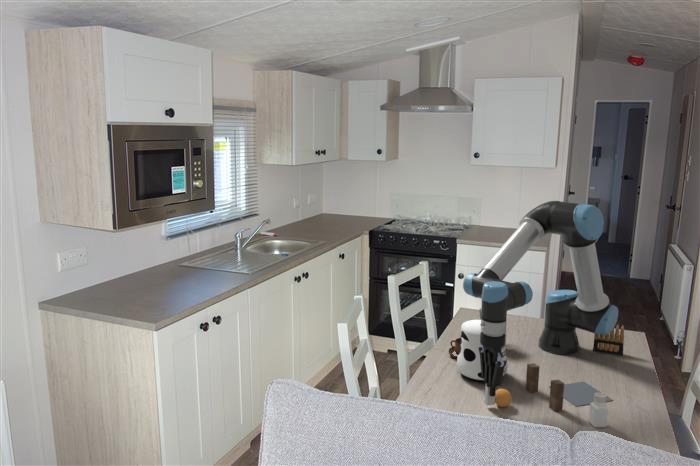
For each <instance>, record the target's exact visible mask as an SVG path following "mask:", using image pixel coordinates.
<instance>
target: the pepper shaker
mask: <svg viewBox="0 0 700 466" xmlns="http://www.w3.org/2000/svg"><path fill="white" fill-rule="evenodd" d="M606 396H607V395H606V394H605V393H603V392H601V393H599V392H597V393H594V402H592V403H590V404H589V412H588V413H589V414H588V416H589V417H588V422H589V423H590V424H591V425H592V427H594V428H607V426H608V415H609V407H608V406H607V405H606Z"/></svg>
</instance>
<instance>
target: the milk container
mask: <svg viewBox="0 0 700 466" xmlns="http://www.w3.org/2000/svg"><path fill="white" fill-rule="evenodd" d="M480 324H481V320H480V319H471V320H466V321H464V322H463V323H462V324H461V327H460V338H461V345H460V351H459V354H458V357H457V358H456V364H457V370H458V372H459V373H460V374H461V375H462V376H464V377H466V378H467V379H469V380H473V381H476V382H481V383H482V382H484V379H482V376H481V363H480V353H479V349H478V348H479V347H483V346H482V345H481V343H480V333H481V332H482V331H481V326H480ZM505 335H506V336H507V332H506V333H505ZM506 347H507V337H506V338H505V346H504V347H503V348H502V349H501V352H502V356H501V358H502V360H503V361H506V365H505V367H504V371H503V376H502V379H503V378H504V376H505V375H506V374H507V370H508V357H507V353H506V349H507V348H506ZM484 375H485V374H484ZM484 383H485V382H484Z"/></svg>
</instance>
